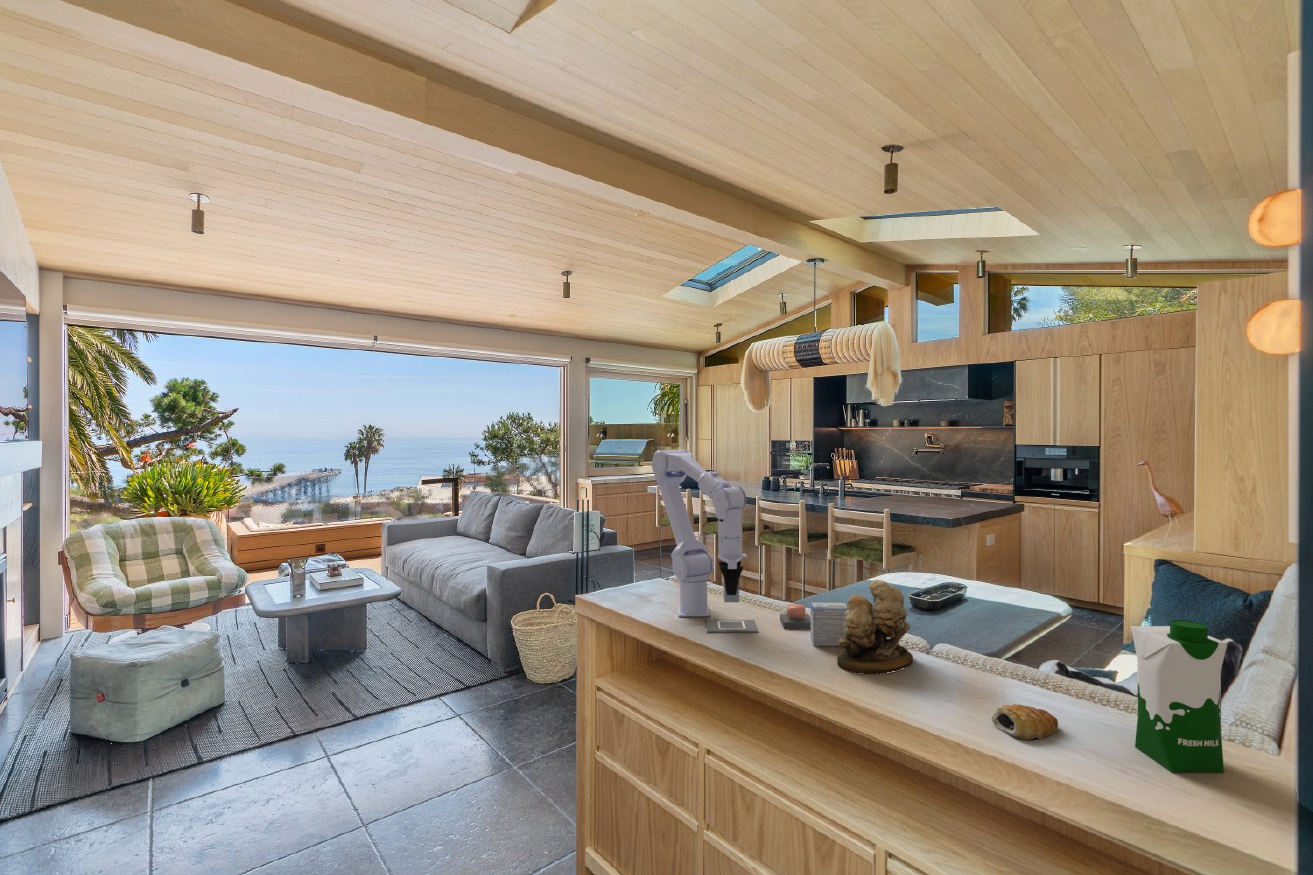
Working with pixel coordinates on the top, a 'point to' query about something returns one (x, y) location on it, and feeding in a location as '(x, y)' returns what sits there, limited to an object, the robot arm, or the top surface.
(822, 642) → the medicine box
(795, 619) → the button base
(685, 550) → the robot arm
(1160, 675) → the milk carton
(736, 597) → the grey rectangular block
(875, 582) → the owl figurine
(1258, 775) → the top surface
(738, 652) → the top surface
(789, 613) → the button
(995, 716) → the pastry
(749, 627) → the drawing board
